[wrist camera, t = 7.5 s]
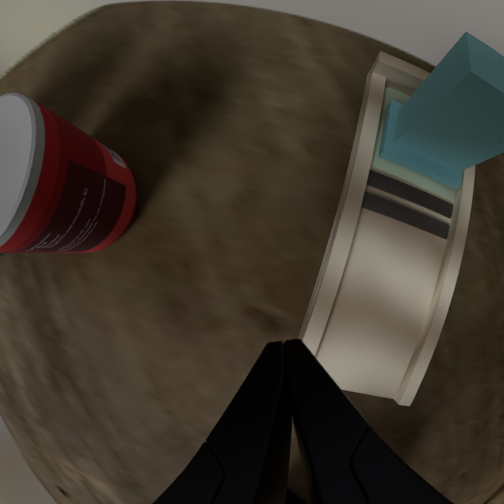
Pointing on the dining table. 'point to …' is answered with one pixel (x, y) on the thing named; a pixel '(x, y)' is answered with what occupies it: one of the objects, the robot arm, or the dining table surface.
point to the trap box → (386, 257)
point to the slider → (450, 115)
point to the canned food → (58, 183)
